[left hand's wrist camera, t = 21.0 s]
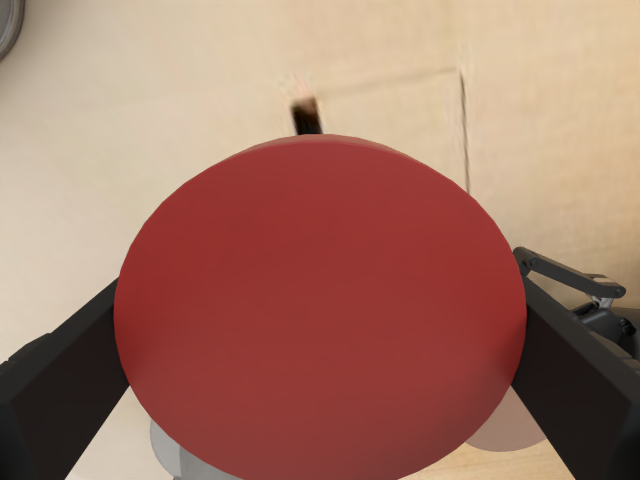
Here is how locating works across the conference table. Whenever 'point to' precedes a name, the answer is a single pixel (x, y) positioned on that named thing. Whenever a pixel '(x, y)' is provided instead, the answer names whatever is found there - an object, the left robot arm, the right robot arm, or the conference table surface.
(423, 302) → the lid
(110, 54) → the conference table surface
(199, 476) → the projector
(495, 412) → the jar
